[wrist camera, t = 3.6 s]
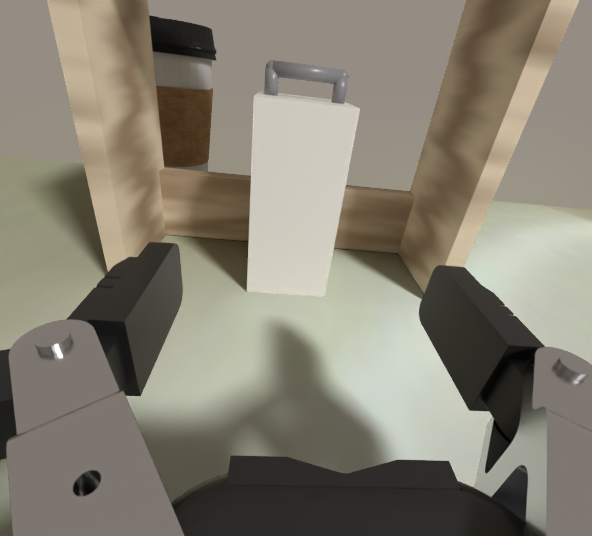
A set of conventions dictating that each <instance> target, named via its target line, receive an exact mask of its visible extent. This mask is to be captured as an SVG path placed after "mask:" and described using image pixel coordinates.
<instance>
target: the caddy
mask: <svg viewBox="0 0 592 536" xmlns="http://www.w3.org/2000/svg"><path fill="white" fill-rule="evenodd" d="M279 77H281V78H289V79H297V80H305V81H314V82H322V83H330V84H334V88H333V95H332V100H330V99H322V98H313V97H305V96H297V95H288V94H280V93H278V81H279ZM348 78H349V75H348V72H347V71H346V70H343V69H336V68H329V67H321V66H314V65H306V64H298V63H290V62H283V61H275V60H271V61H269V62H268V63H267V64H266V69H265V91H264V92H263V91H260V92H259V93H257V94H256V95H255V96H254V108H253V137H252V164H251V190H250V217H249V244H248V272H247V291H248V292H262V293H277V294H292V295H307V296H321V297H325V292H326V287H327V281H328V276H329V271H330V265H331V260H332V255H333V250H334V244H335V239H336V234H337V228H338V223H339V218H340V212H341V207H342V202H343V197H344V191H345V186H346V181H347V175H348V170H349V165H350V159H351V154H352V149H353V143H354V137H355V133H356V128H357V122H358V117H359V111H360V109H359V108H357V107H355V106H353V105H351V104H348V103H346V102H345V96H346V90H347V84H348Z"/></svg>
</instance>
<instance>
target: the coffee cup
mask: <svg viewBox="0 0 592 536" xmlns="http://www.w3.org/2000/svg"><path fill="white" fill-rule="evenodd" d="M149 20H150V30H151V40H152V50H153V60H154V70H155V80H156V90H157V100H158V110H159V121H160V131H161V141H162V151H163V161H164V168H175V169H185V170H195V171H205V172H208V159H209V143H210V128H211V112H212V97H213V89H212V88H211V70H212V60H216V57H215V54H216V50H215V48H214V41H213V35H212V30H211V29H210V28H208V27H205V26H201V25H197V24H192V23H188V22H183V21H177V20H172V19H166V18H160V17H155V16H149Z"/></svg>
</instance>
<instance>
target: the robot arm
mask: <svg viewBox="0 0 592 536" xmlns="http://www.w3.org/2000/svg"><path fill="white" fill-rule="evenodd" d="M182 292H183V288H182V276H181V264H180V253H179V247H178V245H177V244H174V243H161V242H149V243H148V244H147V245H146V247H145V248H144V249H143V250H142V252H141V253H140V254H139V255H138V257H128V258H126V259H125V260H123V261H121V262H119V263H117V264H116V265H114V266H113V267H112V268H111V269H110V271H109V272H108V273H107V274H106V275H105V278H103V279H102V280H101V281H100V282H99V283H98V284H97V287H96V288H94V289H93V290H92V291H91V292H90V293H89V294H88V296H87V297H86V298H85V299H84V300H83V301H82V302H81V304H80V305H79V306H78V307H77V308H76V309H75V310H74V312H73V313H72V314H71V315H70V316H69V317H68V318H67V319H66V320H60V321H55V322H51V323H47V324H44V325H41V326H39V327H37V328H35V329H33V330H31V331H29V332H27V333H26V334H24V335H23V336H22V337H20V338H19V339H18V340H17V341H16V342H15V343H14V344H13V346H12V347H11V349H7V350H1V351H0V460H1V459H5V458H7V467H8V480H9V492H10V505H11V518H12V531H13V536H592V365H591V364H590V363H588V362H587V361H585V360H583V359H582V358H580V357H578V356H576V355H574V354H572V353H570V352H567V351H564V350H561V349H558V348H553V347H545V346H544V345H543V344H542V343H541V342H540V341H539V340H538V339H537V338H536V337H535V336H534V335H533V334H532V333H531V332H530V331H529V329H528V328H527V327H526V326H525V325H524V324H523V323H522V322H521V321H520V320H519V319H518V318H517V317H516V316H513V313H512V312H511V311H510V310H509V309H508V308H507V307H505V306H504V305H505V304H504V303H503V302H502V301H501V300H500V299H499V298H498V297H497V296H496V295H495V294H494V293H493V292H491V291H490V290H488V289H486V288H485V287H483V286H482V285H481V284H480V283H479V282H478V281H477V280H476V279H475V278H474V277H473V276H472V275H471V274H470V273H469V272H468V271H467V269H465V268H464V267H459V266H446V265H438V266H436V267H435V269H434V270H433V272H432V275H431V277H430V280H429V283H428V285H427V288H426V291H425V293H424V296H423V298H422V301H421V304H420V308H419V317H420V321H421V324H422V326H423V327H424V329H425V331H426V333H427V335H428V336H429V338H430V340H431V342H432V344H433V345H434V347H435V349H436V351H437V353H438V355H439V356H440V358H441V360H442V362H443V364H444V365H445V367H446V369H447V371H448V373H449V374H450V376H451V378H452V380H453V382H454V384H455V385H456V387H457V389H458V391H459V393H460V394H461V396H462V398H463V400H464V402H465V403H466V405H467V407H468V409H469V410H470V411H490V413H491V415H492V418H491V419H490V421H489V422H488V424H487V427H486V432H485V437H484V442H483V447H482V453H481V458H480V463H479V468H478V473H477V478H476V482H475V485H474V487H471V486H469V485H466V484H464V483H462V482H459V481H457V479H456V477H455V474H454V472H453V470H452V467H451V465H450V463H449V461H426V460H395V461H391V462H388V463H384V464H381V465H377V466H374V467H370V468H367V469H363V470H360V471H356V472H353V473H348V474H345V473H339V472H335V471H332V470H329V469H325V468H322V467H319V466H315V465H312V464H309V463H305V462H302V461H298V460H295V459H292V458H288V457H267V456H231V457H230V465H229V472H228V474H226V475H222V476H218V477H215V478H213V479H210V480H208V481H205V482H203V483H201V484H199V485H197V486H196V487H194V488H192V489H190V490H188V491H187V492H185V493H184V494H183V495H181V496H180V497H178V498H177V499H175V500H174V501H173V502H172V503H170V500H169V498H168V495H167V493H166V491H165V488H164V486H163V483H162V481H161V479H160V476H159V474H158V472H157V469H156V467H155V464H154V462H153V460H152V457H151V455H150V453H149V450H148V448H147V445H146V443H145V441H144V438H143V436H142V433H141V431H140V429H139V426H138V424H137V422H136V419H135V417H134V414H133V412H132V410H131V407H130V405H129V403H128V400H127V398H126V396H141V394H142V392H143V389H144V387H145V385H146V383H147V380H148V378H149V376H150V374H151V371H152V369H153V367H154V364H155V362H156V360H157V358H158V355H159V353H160V351H161V349H162V346H163V344H164V342H165V340H166V337H167V335H168V333H169V331H170V328H171V326H172V324H173V321H174V319H175V317H176V315H177V312H178V310H179V308H180V305H181V301H182Z"/></svg>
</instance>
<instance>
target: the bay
mask: <svg viewBox="0 0 592 536" xmlns="http://www.w3.org/2000/svg"><path fill="white" fill-rule="evenodd" d="M47 2H48V7H49V11H50V15H51V20H52V25H53V29H54V33H55V38H56V42H57V47H58V51H59V56H60V60H61V65H62V69H63V74H64V78H65V83H66V87H67V92H68V96H69V100H70V105H71V109H72V114H73V118H74V123H75V127H76V132H77V136H78V141H79V145H80V150H81V154H82V159H83V163H84V168H85V172H86V176H87V181H88V185H89V190H90V194H91V199H92V203H93V208H94V212H95V217H96V221H97V226H98V230H99V235H100V239H101V243H102V248H103V252H104V257H105V261H106V266H107V270H108V272H109V271H110V269H111V268H112V267H113V266H114V265H116V264H117V263H119V262H121V261H123V260H125V259H126V258H128V257H138V255H139V254H140V253H141V252H142V250H143V249H144V248H145V247H146V245H147V244H148V243H149V242H161V240H162V239H163V238H164V236H165V235H178V236H191V237H203V238H215V239H228V240H240V241H249V217H250V190H251V176H245V175H236V174H225V173H215V172H205V171H195V170H185V169H175V168H164V161H163V151H162V141H161V131H160V121H159V110H158V100H157V90H156V80H155V70H154V60H153V50H152V40H151V30H150V20H149V10H148V1H147V0H47ZM578 2H579V0H466V3H465V7H464V10H463V13H462V17H461V20H460V23H459V27H458V30H457V34H456V37H455V40H454V44H453V47H452V51H451V54H450V57H449V61H448V65H447V68H446V71H445V75H444V78H443V81H442V85H441V88H440V91H439V95H438V98H437V101H436V105H435V108H434V112H433V115H432V118H431V122H430V125H429V129H428V132H427V135H426V139H425V142H424V146H423V149H422V152H421V156H420V159H419V163H418V166H417V170H416V173H415V176H414V180H413V183H412V186H411V190H410V191H400V190H390V189H380V188H370V187H359V186H349V185H346V186H345V191H344V197H343V202H342V207H341V212H340V218H339V223H338V228H337V234H336V239H335V244H334V248H340V249H352V250H365V251H377V252H390V253H398V254H399V256H400V257H401V259H402V260H403V262H404V263H405V265H406V267H407V268H408V270H409V271H410V273H411V274H412V276H413V278H414V279H415V281H416V282H417V284H418V285H419V287H420V288H421V290H422V292H423V293H425V291H426V288H427V285H428V283H429V280H430V277H431V275H432V272H433V270H434V269H435V267H436V266H438V265H446V266H459V267H464V265H465V262H466V260H467V258H468V255H469V253H470V251H471V249H472V246H473V244H474V242H475V239H476V237H477V235H478V232H479V230H480V228H481V226H482V223H483V221H484V219H485V216H486V214H487V212H488V209H489V207H490V205H491V202H492V200H493V198H494V196H495V193H496V191H497V189H498V186H499V184H500V182H501V179H502V177H503V175H504V173H505V170H506V168H507V166H508V163H509V161H510V159H511V156H512V154H513V152H514V149H515V147H516V145H517V142H518V140H519V138H520V136H521V133H522V131H523V129H524V126H525V124H526V121H527V119H528V117H529V115H530V113H531V110H532V108H533V106H534V103H535V101H536V99H537V96H538V94H539V92H540V89H541V87H542V85H543V83H544V80H545V78H546V76H547V73H548V71H549V69H550V67H551V64H552V62H553V60H554V57H555V55H556V53H557V50H558V48H559V46H560V43H561V41H562V39H563V37H564V34H565V32H566V30H567V27H568V25H569V23H570V20H571V18H572V16H573V13H574V11H575V9H576V7H577V4H578Z"/></svg>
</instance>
